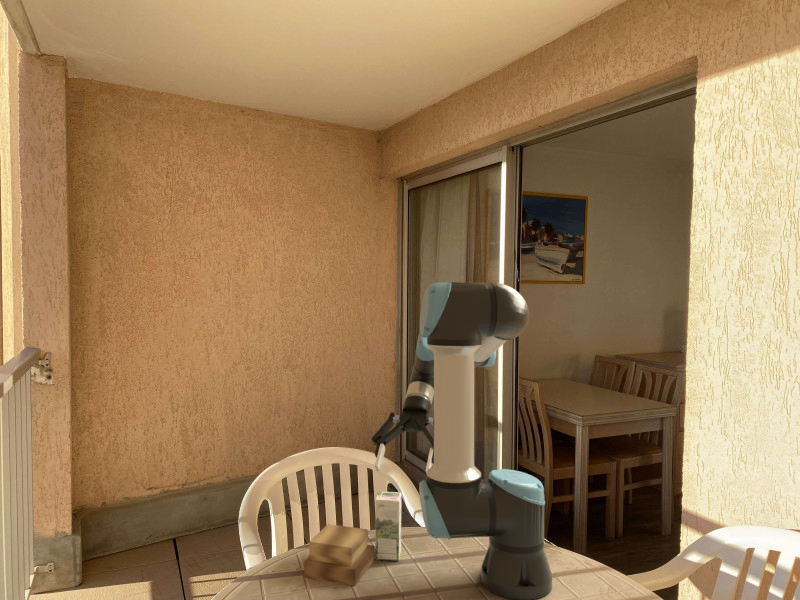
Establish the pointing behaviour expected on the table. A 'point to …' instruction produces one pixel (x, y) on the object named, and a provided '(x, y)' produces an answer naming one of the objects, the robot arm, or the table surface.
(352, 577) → the walnut block
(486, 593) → the table surface
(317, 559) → the oak block
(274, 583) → the table surface
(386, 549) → the syrup box
